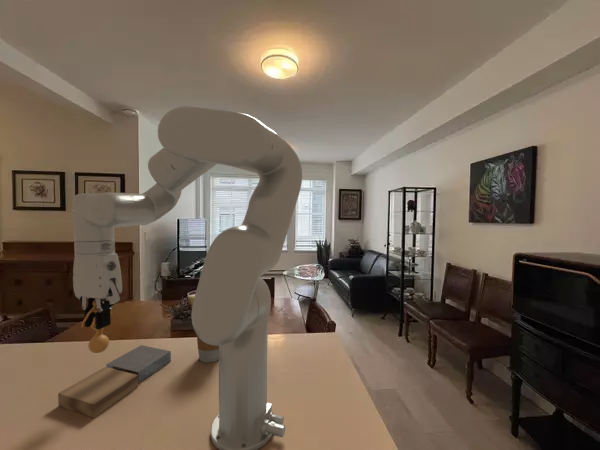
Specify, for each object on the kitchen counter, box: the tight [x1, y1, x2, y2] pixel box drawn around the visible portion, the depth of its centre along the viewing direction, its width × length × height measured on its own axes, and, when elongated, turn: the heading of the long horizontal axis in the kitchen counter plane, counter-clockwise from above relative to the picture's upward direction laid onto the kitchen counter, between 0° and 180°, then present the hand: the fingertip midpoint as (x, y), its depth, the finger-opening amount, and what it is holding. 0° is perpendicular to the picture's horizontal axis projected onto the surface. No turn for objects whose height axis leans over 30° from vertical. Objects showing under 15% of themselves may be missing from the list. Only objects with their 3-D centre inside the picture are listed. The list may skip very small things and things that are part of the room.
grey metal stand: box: [105, 344, 172, 384], centre depth 78 cm, size 11×11×3 cm
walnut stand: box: [57, 366, 139, 418], centre depth 67 cm, size 11×11×3 cm
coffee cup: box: [196, 335, 219, 364], centre depth 84 cm, size 8×8×15 cm
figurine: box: [81, 301, 114, 354], centre depth 66 cm, size 8×6×12 cm
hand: (97, 325), depth 66 cm, fingers closed on figurine, 2 cm apart
